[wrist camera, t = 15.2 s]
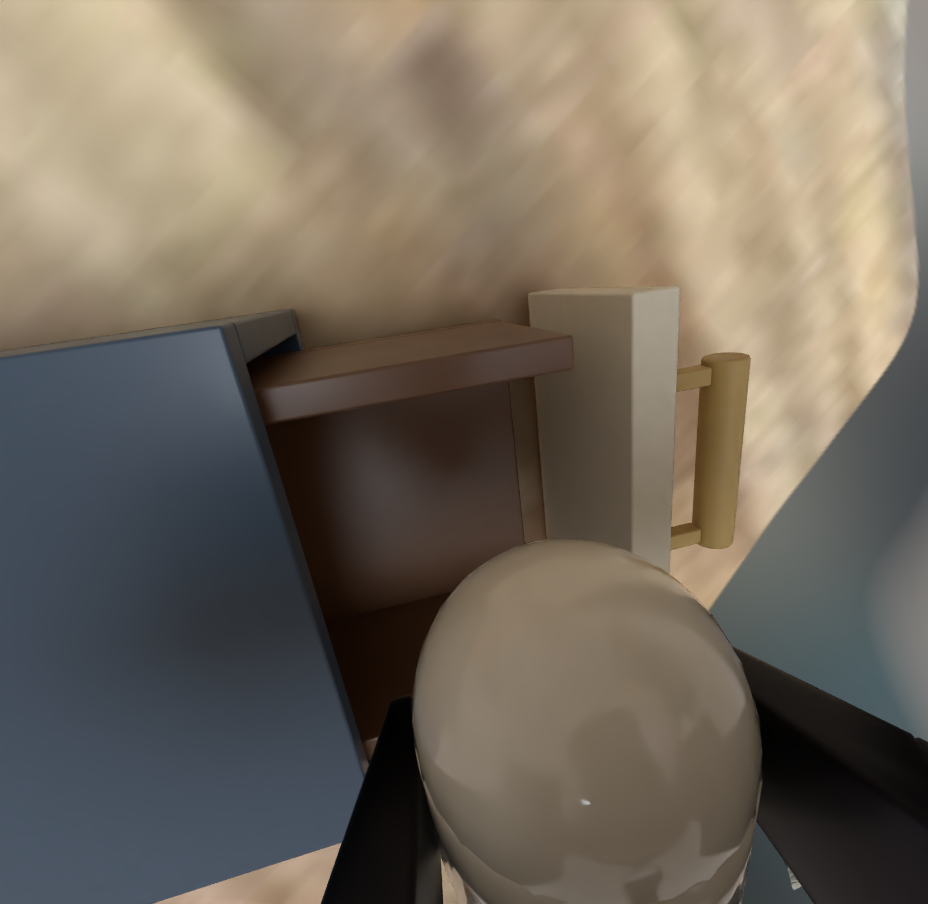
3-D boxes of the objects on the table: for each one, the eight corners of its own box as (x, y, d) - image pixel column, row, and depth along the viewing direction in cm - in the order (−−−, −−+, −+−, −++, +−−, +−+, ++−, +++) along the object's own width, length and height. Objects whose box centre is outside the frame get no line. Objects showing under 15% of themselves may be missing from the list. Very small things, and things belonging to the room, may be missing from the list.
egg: (376, 520, 8) (394, 824, 3) (631, 466, 8) (924, 657, 4) (434, 774, 10) (489, 1149, 6) (629, 716, 11) (813, 1009, 6)
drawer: (680, 269, 17) (866, 256, 11) (669, 548, 21) (797, 654, 15) (124, 353, 14) (-68, 402, 8) (245, 656, 18) (184, 842, 12)
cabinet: (293, 308, 15) (221, 324, 8) (374, 621, 20) (381, 830, 12) (-255, 387, 13) (-1194, 531, 5) (-16, 719, 18) (-314, 1055, 10)
